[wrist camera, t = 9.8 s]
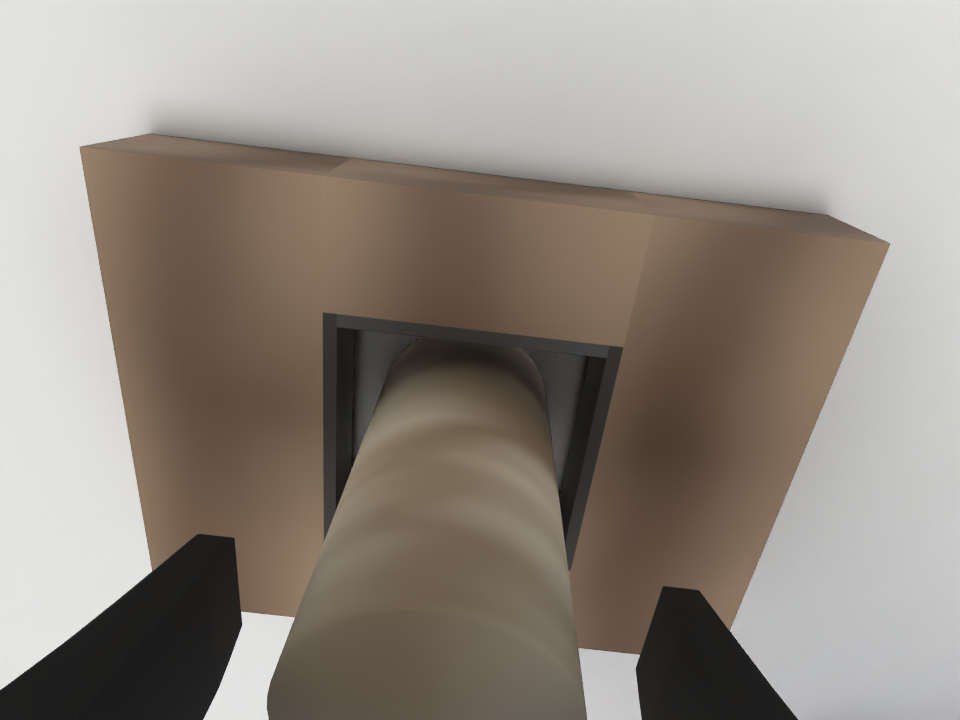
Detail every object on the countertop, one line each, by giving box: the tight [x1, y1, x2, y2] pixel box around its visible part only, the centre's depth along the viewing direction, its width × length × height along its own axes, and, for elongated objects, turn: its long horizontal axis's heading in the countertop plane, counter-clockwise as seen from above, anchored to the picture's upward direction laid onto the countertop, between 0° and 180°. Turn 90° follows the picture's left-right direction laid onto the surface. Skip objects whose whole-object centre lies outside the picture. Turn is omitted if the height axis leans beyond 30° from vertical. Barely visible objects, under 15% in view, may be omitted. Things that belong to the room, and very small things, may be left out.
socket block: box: [80, 134, 890, 654], centre depth 15 cm, size 16×12×2 cm
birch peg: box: [267, 337, 587, 720], centre depth 12 cm, size 4×4×9 cm
